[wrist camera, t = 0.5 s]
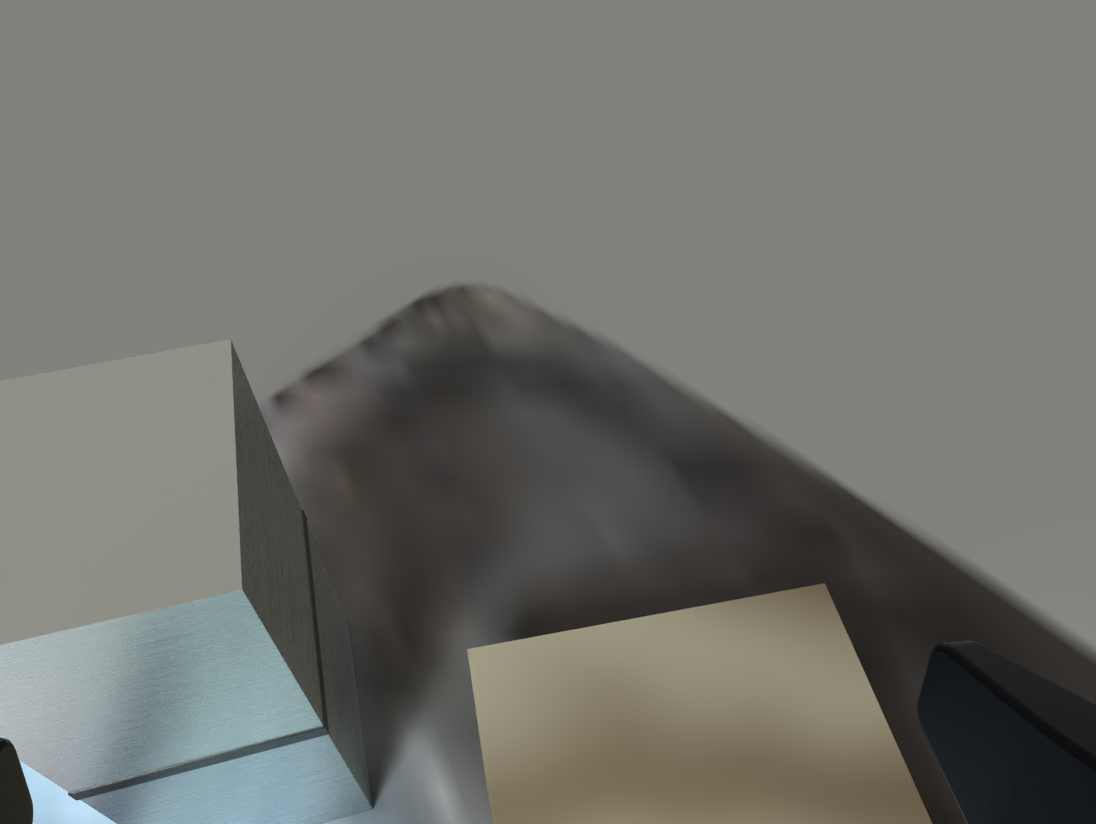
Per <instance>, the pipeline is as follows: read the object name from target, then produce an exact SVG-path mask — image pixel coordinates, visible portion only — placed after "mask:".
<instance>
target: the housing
mask: <svg viewBox="0 0 1096 824" xmlns="http://www.w3.org/2000/svg"><path fill="white" fill-rule="evenodd" d="M0 738H6V739H8V740H10V741H11V742H12V744H13V745H14V747H15V749H16V752H17V755H18V758H19V760H20V761H22V762H23V763H25V764H26V765H28V766H29V767H31V768H32V769H34V770H35V771H37V772H38V773H40V774H42V775H43V776H45V777H46V778H48V779H49V780H51V781H52V782H54V783H55V784H57V785H58V786H60V787H62V788H63V789H65V790H66V791H68V795H69V796H71V797H72V798H74V799H75V800H82V801H83V802H85V803H86V804H88V805H89V806H91V807H92V808H94V809H95V810H97V811H99V812H100V813H102V814H103V815H105V816H106V817H108V818H109V819H111V820H112V821H114V822H115V823H117V824H322V823H325V822H329V821H333V820H336V819H340V818H343V817H347V816H350V815H354V814H358V813H361V812H365V811H368V810H372V809H373V807H372V799H371V792H370V784H369V776H368V769H367V761H366V753H365V745H364V738H363V730H362V722H361V715H360V707H359V699H358V691H357V684H356V676H355V668H354V661H353V653H352V645H351V638H350V630H349V623H348V621H347V619H346V616H345V614H344V611H343V609H342V606H341V604H340V602H339V599H338V597H337V594H336V592H335V590H334V587H333V585H332V582H331V580H330V577H329V575H328V573H327V570H326V568H325V565H324V563H323V561H322V558H321V556H320V553H319V551H318V549H317V546H316V544H315V541H314V539H313V536H312V534H311V532H310V529H309V527H308V524H307V518H306V516H305V513H304V511H303V510H301V507H300V505H299V503H298V500H297V498H296V495H295V493H294V491H293V488H292V486H291V483H290V481H289V479H288V476H287V474H286V471H285V469H284V466H283V464H282V462H281V459H280V457H279V454H278V452H277V450H276V447H275V445H274V442H273V440H272V437H271V435H270V433H269V430H268V428H267V425H266V423H265V421H264V418H263V416H262V413H261V411H260V409H259V406H258V404H257V401H256V399H255V397H254V394H253V392H252V390H251V387H250V384H249V382H248V380H247V377H246V375H245V372H244V370H243V368H242V365H241V363H240V360H239V358H238V355H237V353H236V351H235V348H234V346H233V343H232V341H231V339H229V340H223V341H218V342H213V343H207V344H201V345H196V346H191V347H185V348H179V349H174V350H168V351H163V352H157V353H152V354H146V355H141V356H135V357H130V358H124V359H119V360H114V361H108V362H102V363H97V364H91V365H86V366H80V367H75V368H69V369H64V370H59V371H53V372H48V373H42V374H37V375H31V376H25V377H20V378H14V379H9V380H3V381H0Z"/></svg>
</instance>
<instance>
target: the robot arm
mask: <svg viewBox="0 0 1096 824" xmlns="http://www.w3.org/2000/svg"><path fill="white" fill-rule="evenodd" d="M917 716H918V719H919V723H920V726H921V728H922V730H923V732H924V734H925V737H926V739H927V741H928V743H929V745H930V747H931V749H932V751H933V753H934V756H935V758H936V760H937V762H938V764H939V766H940V768H941V770H942V772H943V775H944V777H945V779H946V781H947V783H948V785H949V787H950V789H951V791H952V794H953V796H954V798H955V800H956V802H957V804H958V806H959V808H960V810H961V813H962V815H963V817H964V819H965V821H966V823H967V824H1096V704H1095V703H1093V702H1091V701H1089V700H1087V699H1086V698H1084V697H1082V696H1080V695H1078V694H1076V693H1074V692H1072V691H1070V690H1068V689H1066V688H1065V687H1063V686H1061V685H1059V684H1057V683H1055V682H1053V681H1051V680H1049V679H1047V678H1045V677H1044V676H1042V675H1040V674H1038V673H1036V672H1034V671H1032V670H1030V669H1028V668H1026V667H1024V666H1022V665H1021V664H1019V663H1017V662H1015V661H1013V660H1011V659H1009V658H1007V657H1005V656H1003V655H1001V654H1000V653H998V652H996V651H994V650H992V649H990V648H988V647H986V646H984V645H982V644H980V643H978V642H975V641H957V642H947V643H940V644H938V645H936V646H935V647H934V648H933V650H932V651H931V653H930V656H929V659H928V663H927V666H926V670H925V673H924V677H923V680H922V684H921V687H920V691H919V695H918V698H917ZM32 822H33V803H32V799H31V796H30V792H29V789H28V786H27V783H26V780H25V777H24V774H23V771H22V767H21V764H20V761H19V758H18V755H17V752H16V749H15V747H14V745H13V744H12V742H11V741H10V740H8V739H6V738H0V824H32Z"/></svg>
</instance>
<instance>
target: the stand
mask: <svg viewBox="0 0 1096 824" xmlns="http://www.w3.org/2000/svg"><path fill="white" fill-rule="evenodd" d="M467 651H468V658H469V665H470V672H471V679H472V686H473V693H474V700H475V707H476V714H477V721H478V728H479V735H480V742H481V749H482V756H483V763H484V770H485V777H486V784H487V791H488V798H489V805H490V812H491V819H492V824H932V822H931V820H930V817H929V815H928V813H927V811H926V808H925V806H924V804H923V802H922V799H921V797H920V795H919V793H918V790H917V788H916V786H915V784H914V782H913V779H912V777H911V775H910V773H909V770H908V768H907V766H906V764H905V761H904V759H903V757H902V755H901V752H900V750H899V748H898V746H897V744H896V741H895V739H894V737H893V735H892V732H891V730H890V728H889V726H888V723H887V721H886V719H885V717H884V714H883V712H882V710H881V708H880V706H879V703H878V701H877V699H876V697H875V694H874V692H873V690H872V688H871V685H870V683H869V681H868V679H867V676H866V674H865V672H864V670H863V667H862V665H861V663H860V661H859V659H858V656H857V654H856V652H855V650H854V647H853V645H852V643H851V641H850V638H849V636H848V634H847V632H846V629H845V627H844V625H843V623H842V621H841V618H840V616H839V614H838V612H837V609H836V607H835V605H834V603H833V600H832V598H831V596H830V594H829V591H828V589H827V587H826V585H825V583H823V584H818V585H812V586H807V587H801V588H796V589H791V590H785V591H780V592H774V593H769V594H764V595H758V596H753V597H747V598H742V599H736V600H731V601H726V602H720V603H715V604H709V605H704V606H699V607H693V608H688V609H682V610H677V611H671V612H666V613H661V614H655V615H650V616H644V617H639V618H634V619H628V620H623V621H617V622H612V623H606V624H601V625H596V626H590V627H585V628H579V629H574V630H569V631H563V632H558V633H552V634H547V635H541V636H536V637H531V638H525V639H520V640H514V641H509V642H504V643H498V644H493V645H487V646H482V647H477V648H471V649H467Z"/></svg>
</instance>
